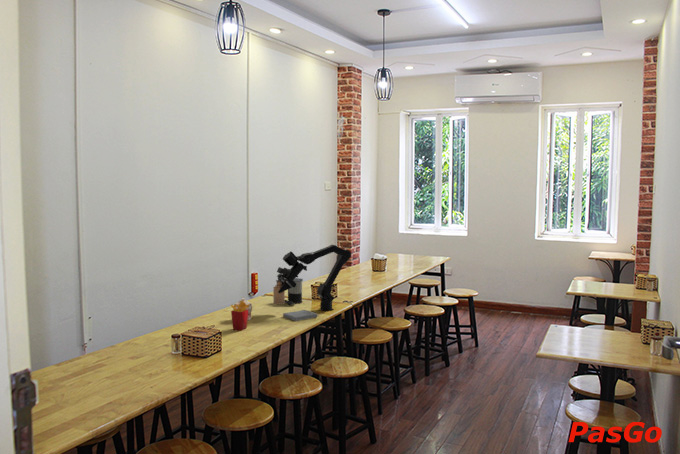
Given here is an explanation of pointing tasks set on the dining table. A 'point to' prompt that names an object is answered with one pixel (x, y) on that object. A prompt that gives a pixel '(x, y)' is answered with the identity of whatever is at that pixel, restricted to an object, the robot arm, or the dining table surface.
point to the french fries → (240, 316)
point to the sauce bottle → (278, 297)
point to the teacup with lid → (246, 308)
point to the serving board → (300, 315)
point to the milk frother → (295, 293)
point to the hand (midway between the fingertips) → (276, 291)
